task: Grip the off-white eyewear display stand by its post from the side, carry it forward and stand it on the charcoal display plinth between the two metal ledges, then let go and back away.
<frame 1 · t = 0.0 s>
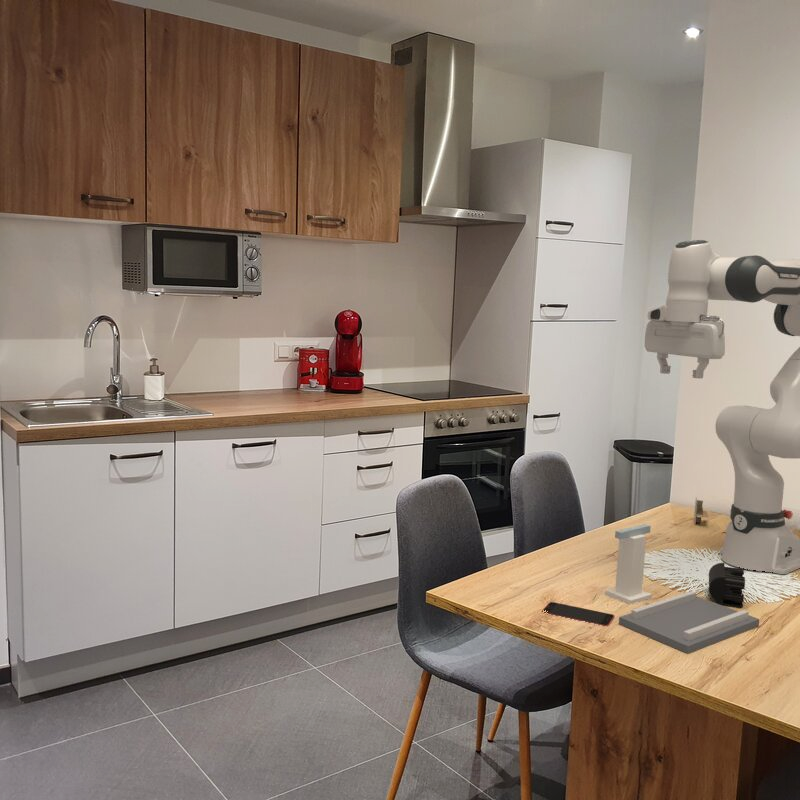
hand: (680, 375, 187), 48 cm above the table, tool pointing down, fingers open, 8 cm apart
architectural model: (697, 525, 243), on the table
display stand: (628, 596, 183), on the table
display plinth: (689, 625, 168), on the table
smartphone: (577, 616, 172), on the table
end cap: (724, 600, 184), on the table
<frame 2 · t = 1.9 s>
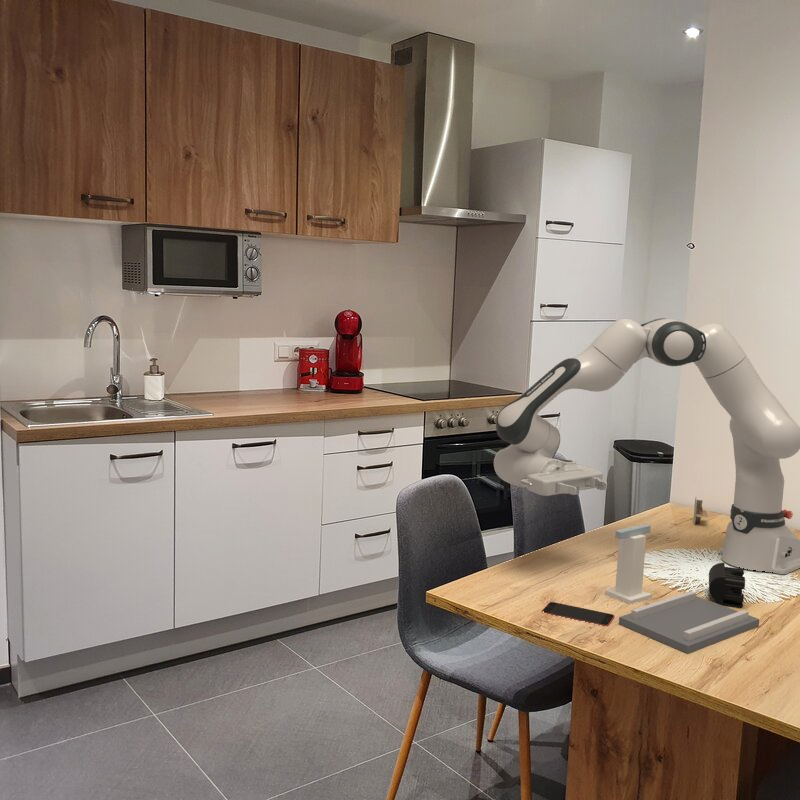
hand: (591, 488, 189), 22 cm above the table, tool horizontal, fingers open, 8 cm apart
nothing on the table moved.
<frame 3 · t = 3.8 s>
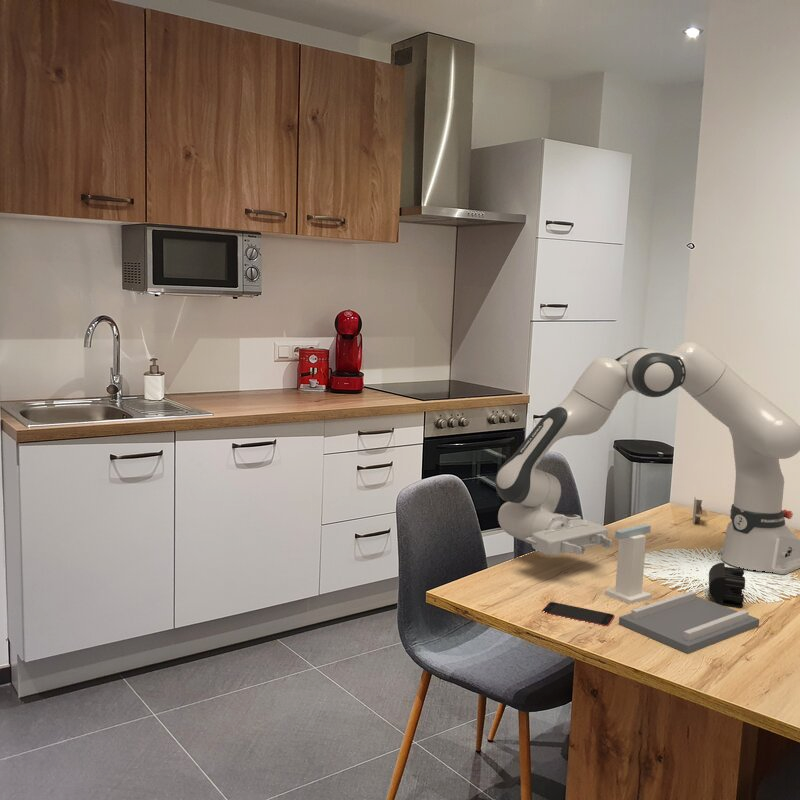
hand: (596, 547, 190), 8 cm above the table, tool horizontal, fingers open, 8 cm apart
nothing on the table moved.
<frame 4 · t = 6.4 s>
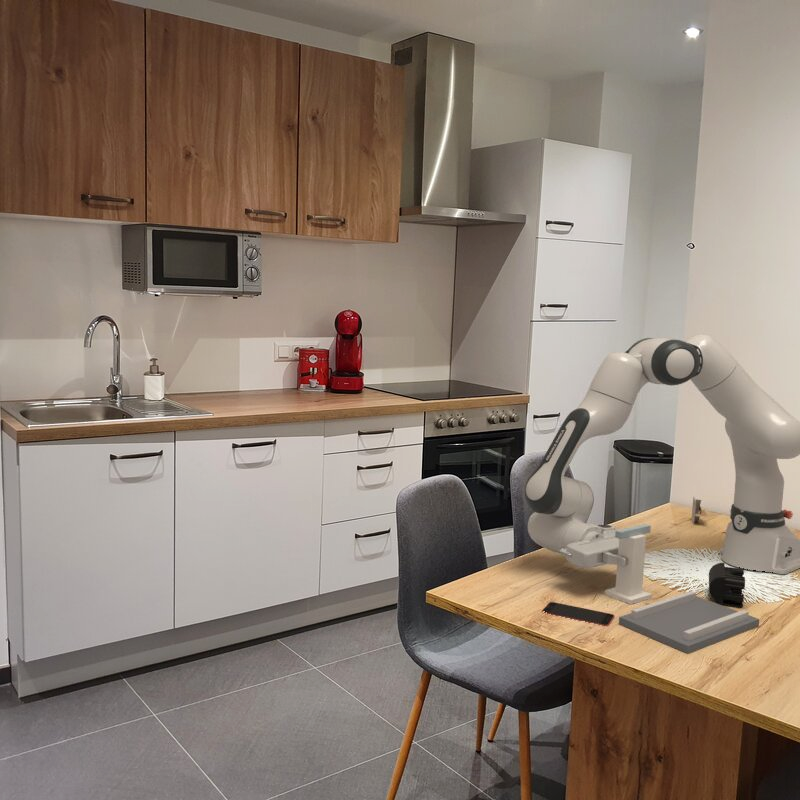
hand: (634, 560, 181), 9 cm above the table, tool horizontal, fingers closed on display stand, 4 cm apart
display stand: (628, 596, 183), on the table, touching gripper
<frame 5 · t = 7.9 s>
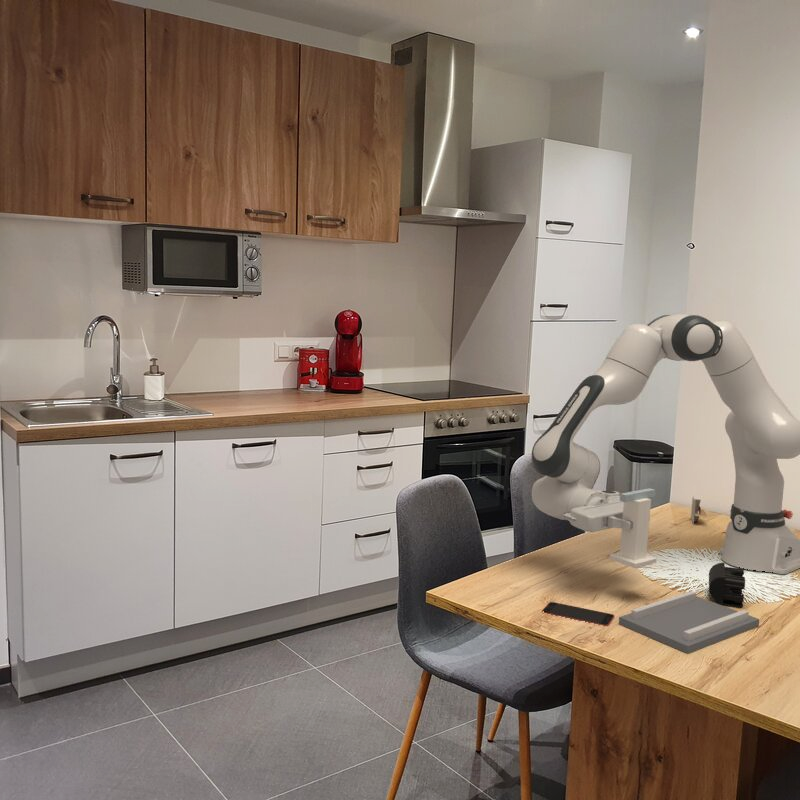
hand: (639, 524, 179), 17 cm above the table, tool horizontal, fingers closed on display stand, 4 cm apart
display stand: (632, 560, 181), point 8 cm above the table, touching gripper
everything else where it was.
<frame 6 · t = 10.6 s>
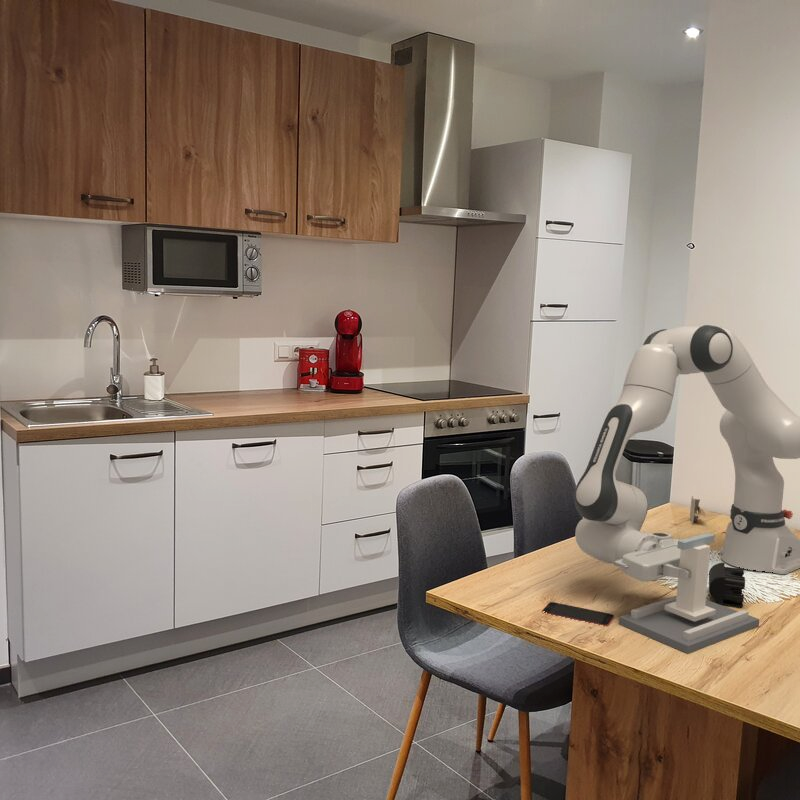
hand: (697, 572, 166), 11 cm above the table, tool horizontal, fingers closed on display stand, 4 cm apart
display stand: (689, 612, 168), point 3 cm above the table, touching gripper
when the fingers open (11 cm above the table, at t = 10.8 s): display stand drops 1 cm, resting on display plinth.
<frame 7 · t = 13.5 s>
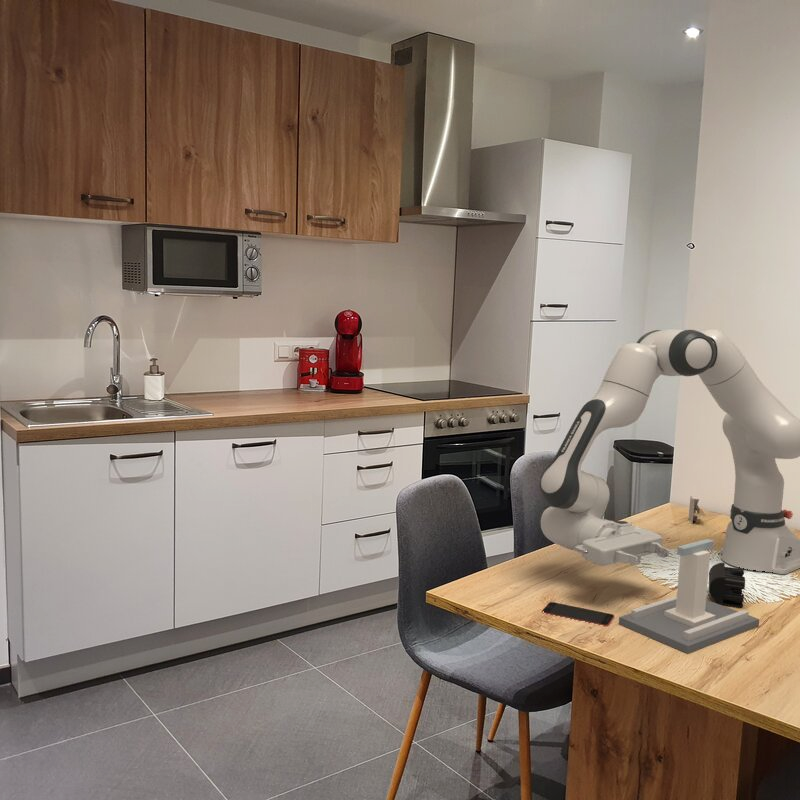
hand: (652, 557, 174), 11 cm above the table, tool horizontal, fingers open, 8 cm apart
display stand: (689, 617, 168), point 1 cm above the table, touching display plinth
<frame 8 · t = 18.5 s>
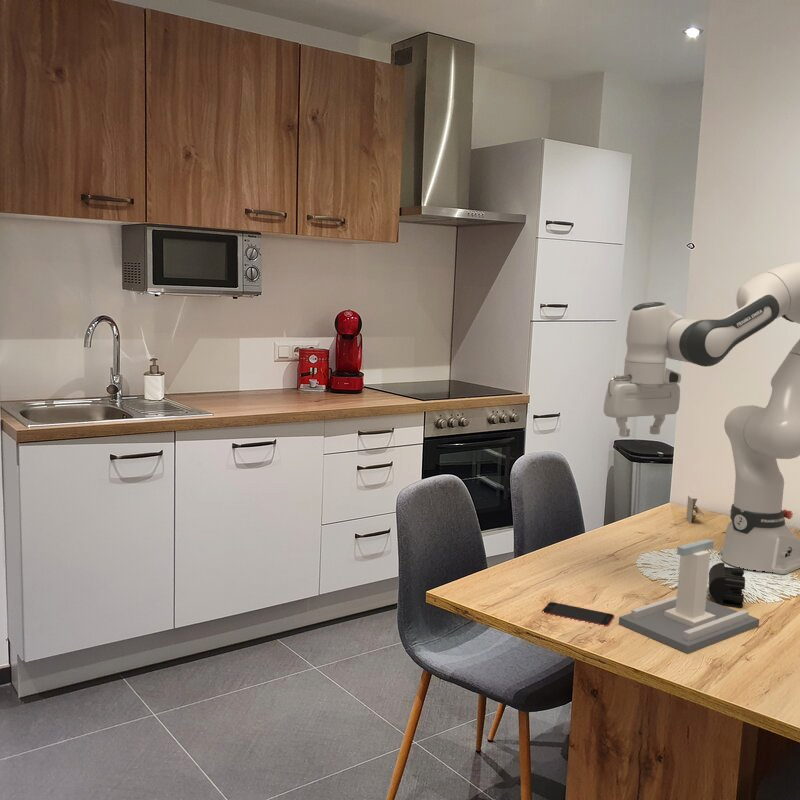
hand: (639, 435, 189), 34 cm above the table, tool pointing down, fingers open, 8 cm apart
at the end: display stand inside the target area on the display plinth (0.1 cm from its centre), point 1.5 cm above the display plinth's base; display stand tilted 0°; the gripper is holding nothing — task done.
